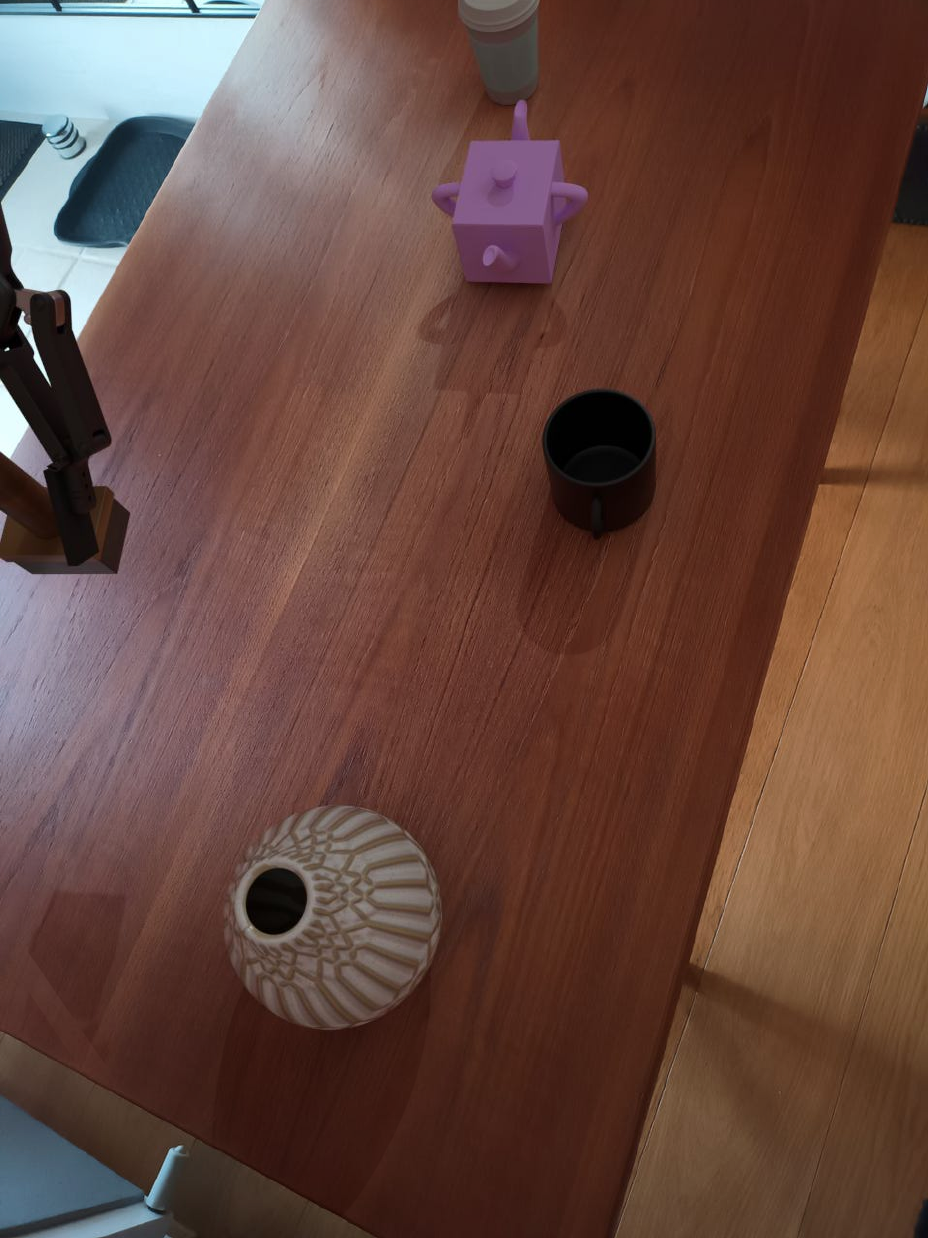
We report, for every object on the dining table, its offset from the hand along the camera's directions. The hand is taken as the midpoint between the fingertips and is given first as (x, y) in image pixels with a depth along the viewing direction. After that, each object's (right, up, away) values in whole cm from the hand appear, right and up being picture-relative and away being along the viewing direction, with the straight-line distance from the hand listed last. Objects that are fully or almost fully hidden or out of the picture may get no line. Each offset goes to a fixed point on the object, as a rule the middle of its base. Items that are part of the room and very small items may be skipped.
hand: (30, 558), depth 65 cm
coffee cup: (+35, +56, +42) cm, 78 cm away
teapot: (+35, +34, +34) cm, 60 cm away
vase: (+21, -29, +13) cm, 38 cm away
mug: (+42, +7, +22) cm, 48 cm away
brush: (+1, +2, +6) cm, 6 cm away
